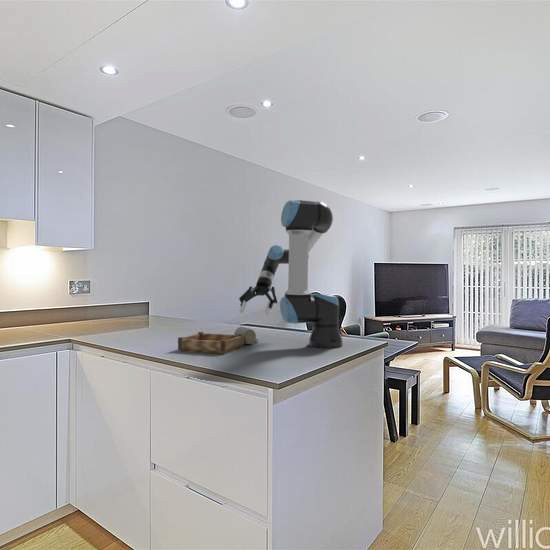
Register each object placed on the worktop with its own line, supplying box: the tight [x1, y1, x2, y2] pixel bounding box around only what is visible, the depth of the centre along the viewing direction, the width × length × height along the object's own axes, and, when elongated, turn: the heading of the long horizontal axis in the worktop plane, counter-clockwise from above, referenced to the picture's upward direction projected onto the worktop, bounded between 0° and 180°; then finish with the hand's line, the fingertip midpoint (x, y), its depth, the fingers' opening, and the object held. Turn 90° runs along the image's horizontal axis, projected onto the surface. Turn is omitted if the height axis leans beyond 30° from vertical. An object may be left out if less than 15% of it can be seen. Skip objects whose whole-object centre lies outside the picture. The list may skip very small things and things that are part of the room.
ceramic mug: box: [233, 326, 259, 345], centre depth 186 cm, size 11×8×8 cm
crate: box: [177, 331, 244, 355], centre depth 173 cm, size 22×18×6 cm
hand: (253, 312), depth 195 cm, fingers open, 13 cm apart
